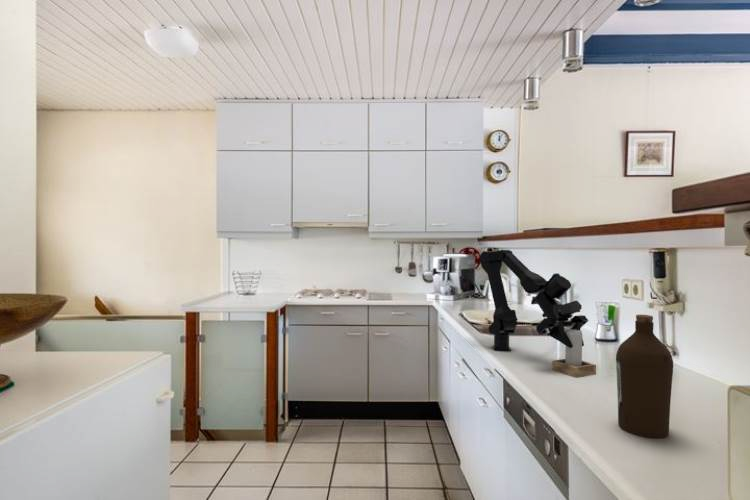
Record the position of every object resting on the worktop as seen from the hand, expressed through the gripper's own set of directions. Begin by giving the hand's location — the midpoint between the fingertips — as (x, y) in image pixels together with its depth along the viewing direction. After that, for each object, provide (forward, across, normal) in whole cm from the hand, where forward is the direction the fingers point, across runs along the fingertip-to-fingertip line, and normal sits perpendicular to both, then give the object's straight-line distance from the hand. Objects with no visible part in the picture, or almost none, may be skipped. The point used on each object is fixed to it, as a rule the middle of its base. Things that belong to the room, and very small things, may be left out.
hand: (577, 346), depth 135 cm
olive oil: (+31, -23, -19) cm, 43 cm away
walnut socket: (+5, 0, +7) cm, 8 cm away
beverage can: (+4, 0, +6) cm, 7 cm away
